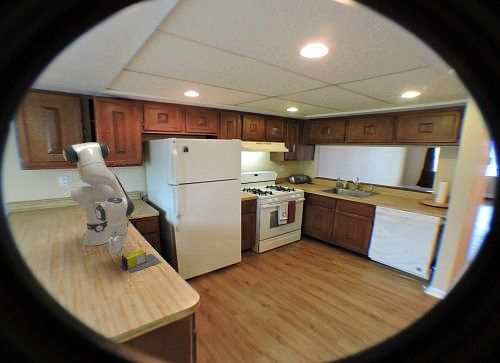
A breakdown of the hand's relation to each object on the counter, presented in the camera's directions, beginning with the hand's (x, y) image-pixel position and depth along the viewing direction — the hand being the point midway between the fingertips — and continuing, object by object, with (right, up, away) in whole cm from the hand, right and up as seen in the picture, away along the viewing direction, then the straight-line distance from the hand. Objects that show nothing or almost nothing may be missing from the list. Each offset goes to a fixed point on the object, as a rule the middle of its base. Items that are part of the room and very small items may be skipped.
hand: (119, 254), depth 118 cm
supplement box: (+1, -5, +2) cm, 6 cm away
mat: (+8, -8, +9) cm, 14 cm away
